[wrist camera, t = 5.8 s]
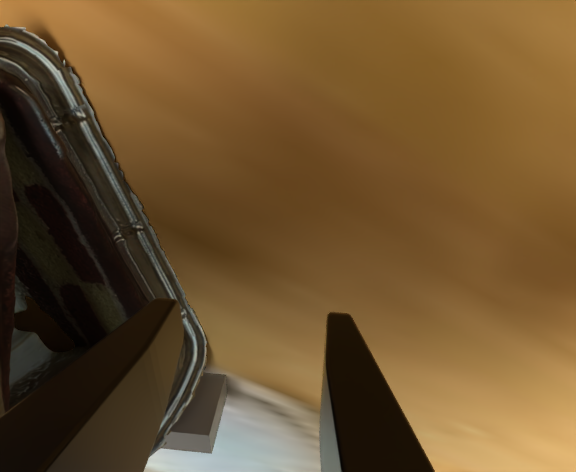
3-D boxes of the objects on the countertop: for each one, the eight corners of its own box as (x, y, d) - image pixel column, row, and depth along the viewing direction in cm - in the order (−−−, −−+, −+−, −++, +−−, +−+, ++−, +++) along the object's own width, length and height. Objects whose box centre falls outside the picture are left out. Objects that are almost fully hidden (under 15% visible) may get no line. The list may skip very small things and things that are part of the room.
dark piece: (-192, 41, 13) (-317, 530, 11) (-47, -19, 9) (-197, 676, 8) (101, 155, 21) (54, 443, 19) (235, 145, 17) (191, 494, 16)
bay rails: (174, -221, 9) (106, -272, 6) (230, 381, 18) (211, 453, 16) (-214, -214, 10) (-408, -258, 7) (33, 363, 19) (-15, 429, 17)
